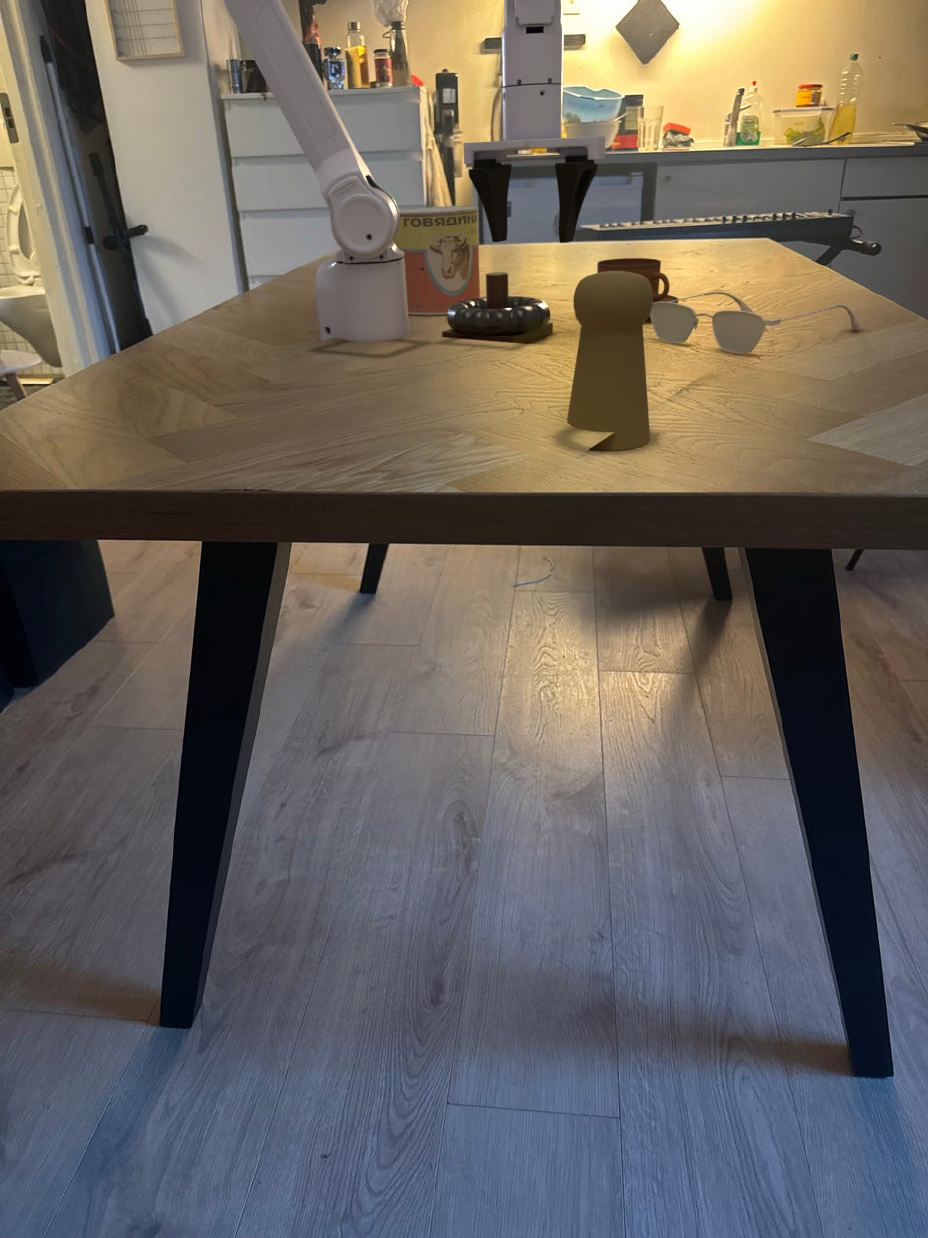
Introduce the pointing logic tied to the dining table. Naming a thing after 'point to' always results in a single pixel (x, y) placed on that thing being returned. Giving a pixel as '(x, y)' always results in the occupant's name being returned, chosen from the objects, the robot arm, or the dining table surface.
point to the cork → (611, 359)
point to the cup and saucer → (644, 268)
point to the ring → (498, 316)
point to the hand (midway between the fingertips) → (532, 241)
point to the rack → (498, 300)
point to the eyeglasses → (718, 324)
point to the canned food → (439, 257)
